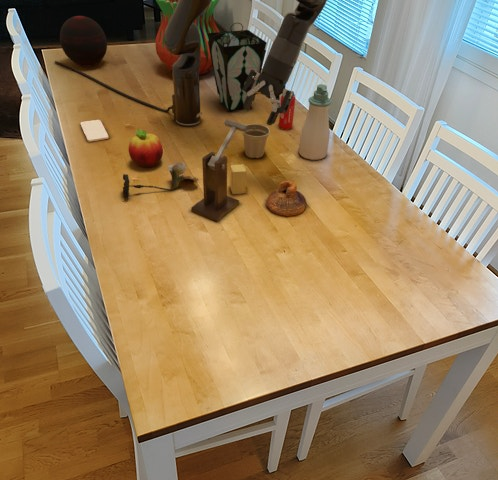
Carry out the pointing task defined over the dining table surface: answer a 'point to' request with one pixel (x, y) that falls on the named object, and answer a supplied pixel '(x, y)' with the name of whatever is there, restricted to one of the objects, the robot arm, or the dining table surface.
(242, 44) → the lantern
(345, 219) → the dining table surface
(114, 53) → the dining table surface
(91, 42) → the decorative orb
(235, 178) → the butter
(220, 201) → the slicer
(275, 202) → the bell
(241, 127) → the blade lever
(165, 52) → the vase
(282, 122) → the beverage can
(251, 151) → the flower pot
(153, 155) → the fruit
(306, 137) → the soap bottle
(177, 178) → the artificial flower
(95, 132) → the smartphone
